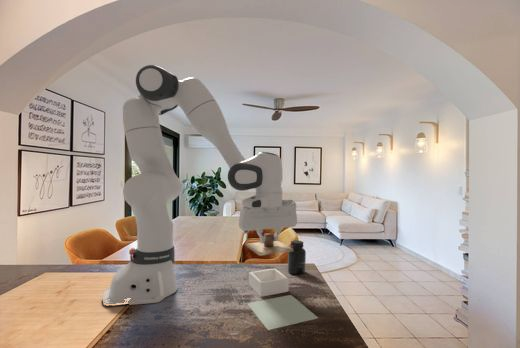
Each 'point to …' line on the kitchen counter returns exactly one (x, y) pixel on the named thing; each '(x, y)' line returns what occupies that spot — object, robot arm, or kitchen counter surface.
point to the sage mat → (281, 312)
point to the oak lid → (269, 246)
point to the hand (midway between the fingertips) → (268, 241)
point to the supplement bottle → (296, 258)
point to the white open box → (268, 282)
